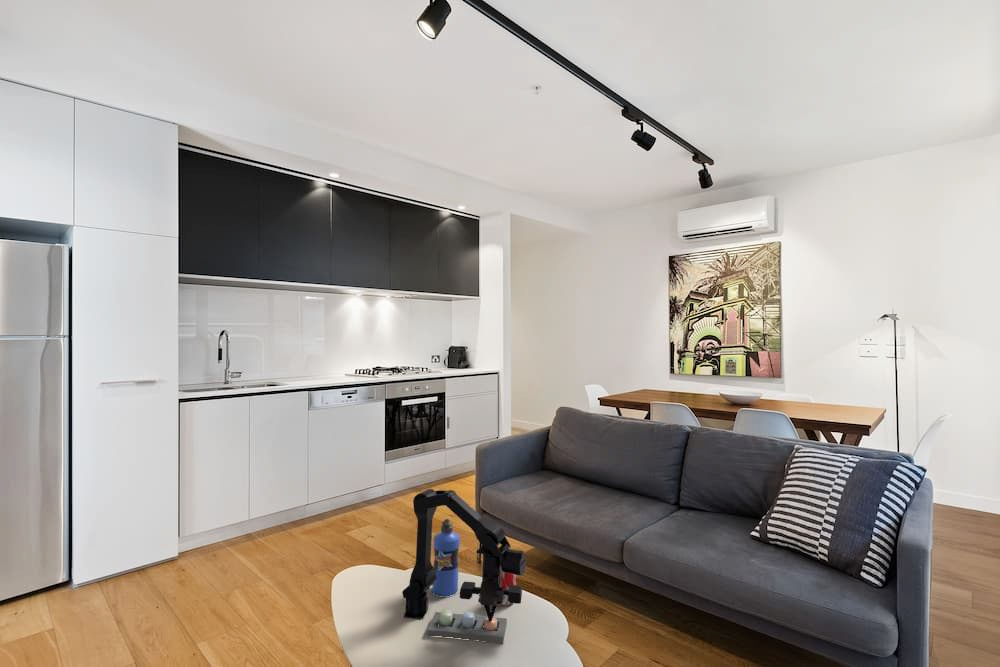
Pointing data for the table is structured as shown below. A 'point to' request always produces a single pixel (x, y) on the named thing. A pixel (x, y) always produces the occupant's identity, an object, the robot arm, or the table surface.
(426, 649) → the table surface
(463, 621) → the blue button
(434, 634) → the button panel
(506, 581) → the soda can
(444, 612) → the sage button
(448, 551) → the water bottle
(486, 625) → the terracotta button
